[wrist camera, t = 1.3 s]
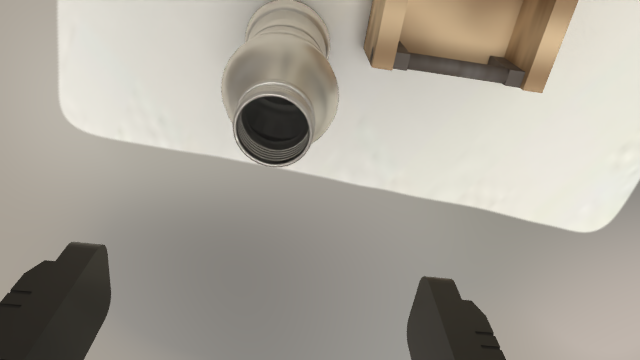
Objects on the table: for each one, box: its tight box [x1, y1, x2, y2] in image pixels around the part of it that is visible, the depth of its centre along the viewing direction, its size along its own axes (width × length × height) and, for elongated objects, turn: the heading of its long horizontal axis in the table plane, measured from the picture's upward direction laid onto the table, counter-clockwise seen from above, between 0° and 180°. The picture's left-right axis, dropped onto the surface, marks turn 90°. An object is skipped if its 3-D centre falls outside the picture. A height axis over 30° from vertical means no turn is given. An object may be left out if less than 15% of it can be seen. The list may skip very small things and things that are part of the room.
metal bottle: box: [221, 0, 339, 167], centre depth 30 cm, size 6×7×20 cm
